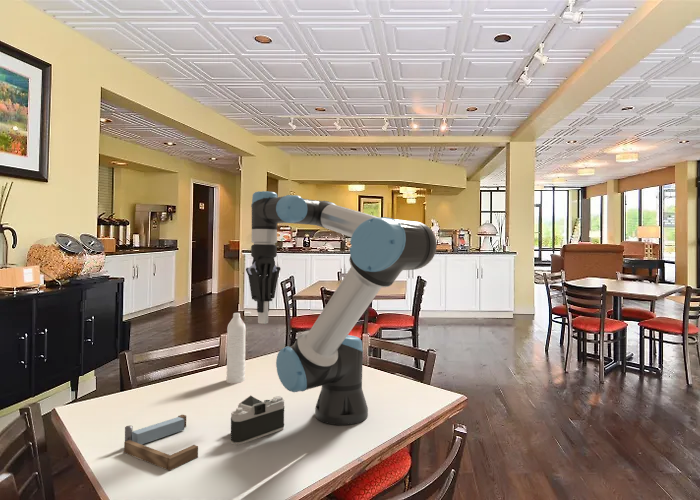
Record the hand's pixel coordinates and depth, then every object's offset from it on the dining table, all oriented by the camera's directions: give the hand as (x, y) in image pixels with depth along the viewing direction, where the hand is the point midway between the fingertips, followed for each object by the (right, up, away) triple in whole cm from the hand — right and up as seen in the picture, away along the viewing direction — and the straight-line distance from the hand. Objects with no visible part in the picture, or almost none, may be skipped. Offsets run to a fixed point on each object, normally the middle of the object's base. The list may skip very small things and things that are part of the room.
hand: (263, 323), depth 133 cm
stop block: (-19, -25, -14) cm, 35 cm away
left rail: (-11, -25, -34) cm, 44 cm away
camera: (+1, -26, -17) cm, 31 cm away
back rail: (-20, -25, -33) cm, 46 cm away
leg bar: (-22, -25, -21) cm, 39 cm away
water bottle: (-14, -26, +29) cm, 41 cm away
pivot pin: (-27, -25, -27) cm, 46 cm away
